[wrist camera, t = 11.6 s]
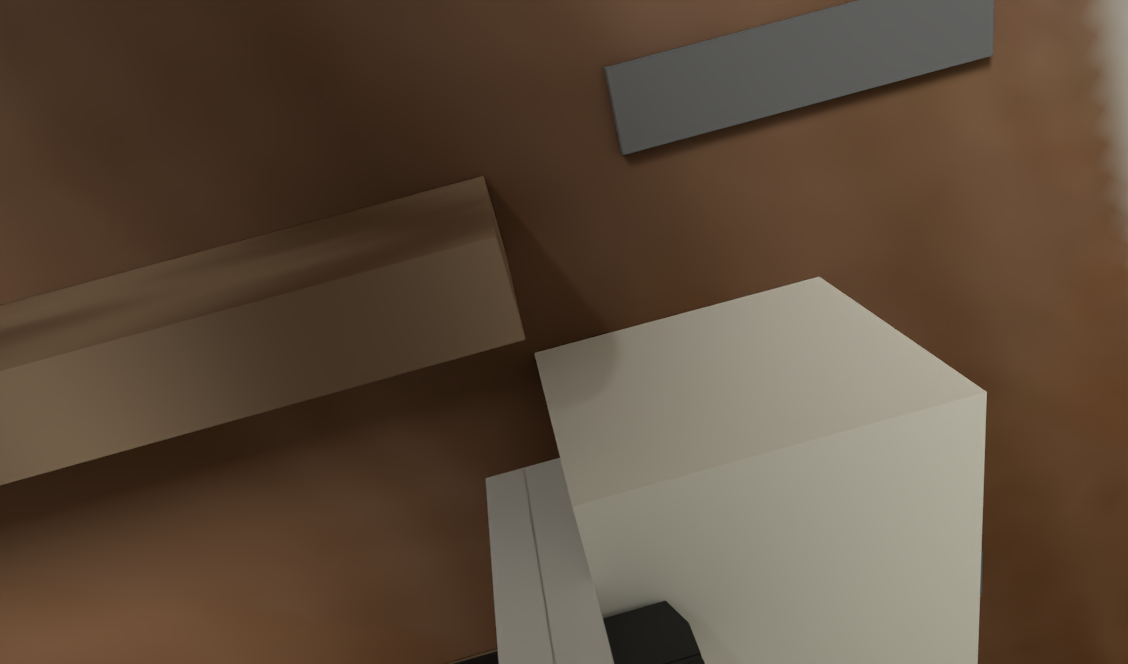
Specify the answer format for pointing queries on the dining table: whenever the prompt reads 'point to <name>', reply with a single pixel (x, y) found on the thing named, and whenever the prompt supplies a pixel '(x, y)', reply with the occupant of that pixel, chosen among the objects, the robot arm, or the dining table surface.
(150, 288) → the wooden bar frame
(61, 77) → the dining table surface
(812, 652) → the block
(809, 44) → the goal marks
